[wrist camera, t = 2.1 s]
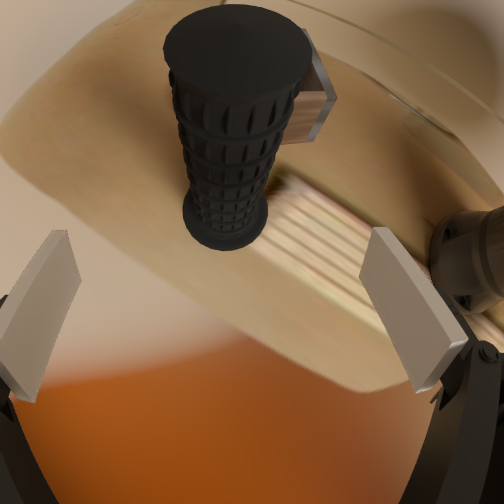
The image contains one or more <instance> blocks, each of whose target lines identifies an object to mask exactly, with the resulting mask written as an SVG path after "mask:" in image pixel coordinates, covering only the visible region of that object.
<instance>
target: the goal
mask: <svg viewBox="0 0 504 504" xmlns="http://www.w3.org/2000/svg"><path fill="white" fill-rule="evenodd" d="M302 31H303V32H304V33H305V35H306V36H307V37H308V39H309V42H310V44H311V47H312V62H311V64H310V66H309V68H308V70H307V72H306V73H305V74H304V75H303V77H302V78H301V90H300V92H299V95H298V96H297V97H296V98H295V99H294V110H293V112H292V115H291V117H290V119H289V121H288V124H287V127H286V128H285V129H284V133H283V138H282V142H281V144H280V145H282V144H293V143H304V142H313V141H314V139H315V137H316V136H317V134H318V132H319V130H320V128H321V127H322V125H323V123H324V121H325V119H326V118H327V116H328V114H329V112H330V110H331V109H332V107H333V105H334V103H335V101H336V100H337V96H336V94H335V91H334V89H333V86H332V84H331V82H330V79H329V77H328V75H327V73H326V70H325V68H324V66H323V64H322V62H321V59H320V57H319V55H318V53H317V51H316V49H315V47H314V45H313V43H312V41H311V39H310V37H309V35H308V33H307V31H306V29H302Z"/></svg>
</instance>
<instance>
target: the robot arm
mask: <svg viewBox="0 0 504 504" xmlns="http://www.w3.org/2000/svg"><path fill="white" fill-rule="evenodd" d="M429 263H430V271H431V276H432V280H433V283H434V286H435V287H434V286H433V285H432V284H431V282H430V281H429V280H428V278H427V277H426V275H425V274H424V273H423V271H422V270H421V269H420V267H419V266H418V265H417V263H416V262H415V261H414V260H413V258H412V257H411V256H410V254H409V253H408V252H407V250H406V249H405V248H404V247H403V245H402V244H401V243H400V242H399V240H398V239H397V238H396V237H395V235H394V234H393V233H392V232H391V231H390V229H389V228H388V227H373V229H372V233H371V236H370V240H369V244H368V247H367V251H366V254H365V258H364V261H363V265H362V268H361V271H360V275H359V278H360V280H361V282H362V284H363V286H364V287H365V289H366V291H367V293H368V295H369V297H370V299H371V301H372V303H373V305H374V307H375V309H376V310H377V312H378V314H379V316H380V318H381V320H382V322H383V324H384V326H385V328H386V330H387V332H388V334H389V336H390V339H391V341H392V343H393V345H394V347H395V349H396V351H397V353H398V355H399V357H400V360H401V362H402V364H403V366H404V368H405V370H406V373H407V375H408V377H409V379H410V381H411V384H412V386H413V388H414V390H415V393H418V392H422V391H426V390H429V389H432V388H433V387H434V385H435V384H436V383H437V382H438V380H439V379H440V380H441V382H442V384H443V386H442V387H441V388H440V390H439V391H438V392H437V393H436V394H435V395H434V397H433V398H432V400H431V401H430V403H431V404H432V403H433V402H434V401H435V400H436V399H437V401H436V404H435V408H434V411H433V415H432V418H431V422H430V425H429V428H428V431H427V434H426V437H425V440H424V443H423V446H422V449H421V451H420V454H419V457H418V459H417V462H416V464H415V467H414V469H413V472H412V474H411V477H410V479H409V481H408V484H407V486H406V488H405V491H404V493H403V495H402V497H401V500H400V502H399V504H504V353H499V351H498V349H497V348H496V347H495V346H494V345H493V344H491V343H489V342H487V341H483V340H482V341H479V340H478V339H477V337H476V336H475V334H474V333H473V331H472V329H471V328H470V326H469V325H468V323H467V322H466V320H465V319H464V317H463V316H462V315H461V314H478V313H481V312H484V311H485V310H487V309H489V308H491V307H492V306H494V305H496V304H498V303H499V302H501V301H503V300H504V206H501V207H499V208H497V209H495V210H492V211H490V212H489V211H459V212H456V213H454V214H452V215H449V216H447V217H446V218H444V219H443V220H442V221H441V222H440V223H439V224H438V226H437V227H436V229H435V231H434V233H433V236H432V239H431V244H430V251H429ZM81 281H82V280H81V277H80V274H79V271H78V268H77V265H76V261H75V258H74V255H73V252H72V248H71V244H70V241H69V237H68V233H67V230H54V231H52V232H51V233H50V234H49V236H48V237H47V238H46V240H45V241H44V242H43V244H42V245H41V246H40V248H39V249H38V251H37V252H36V254H35V255H34V257H33V258H32V259H31V261H30V262H29V264H28V265H27V267H26V268H25V270H24V271H23V273H22V274H21V276H20V277H19V279H18V281H17V282H16V284H15V286H14V287H13V289H12V290H11V292H10V294H9V295H5V296H4V297H3V298H2V299H0V504H59V502H58V501H57V499H56V497H55V495H54V494H53V492H52V490H51V488H50V487H49V485H48V483H47V481H46V479H45V477H44V475H43V473H42V472H41V470H40V468H39V466H38V463H37V461H36V459H35V457H34V455H33V453H32V451H31V449H30V446H29V444H28V442H27V440H26V437H25V435H24V433H23V430H22V427H21V425H20V422H19V420H18V417H17V415H16V412H15V409H14V407H13V404H12V402H11V400H10V398H9V397H8V396H9V393H10V391H12V392H13V393H14V394H15V396H16V397H17V398H18V399H20V400H24V401H28V402H32V403H35V400H36V397H37V394H38V391H39V387H40V384H41V381H42V378H43V375H44V372H45V369H46V366H47V364H48V361H49V358H50V355H51V353H52V350H53V347H54V344H55V342H56V339H57V337H58V334H59V332H60V329H61V327H62V324H63V322H64V319H65V317H66V315H67V312H68V310H69V308H70V305H71V303H72V301H73V299H74V296H75V294H76V292H77V290H78V288H79V285H80V283H81Z"/></svg>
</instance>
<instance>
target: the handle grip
mask: <svg viewBox="0 0 504 504" xmlns="http://www.w3.org/2000/svg"><path fill="white" fill-rule="evenodd" d="M163 51H164V58H165V61H166V63H167V64H168V66H169V68H170V71H169V82H170V86H171V87H172V95H173V98H172V100H173V106H174V111H175V114H176V119H177V120H178V121H179V123H178V131H179V137H180V140H181V144H182V145H183V156H184V162H185V163H186V165H187V175H188V179H189V181H190V189H189V190H188V192H187V194H186V196H185V199H184V204H183V219H184V222H185V224H186V227H187V229H188V231H189V232H190V234H191V235H192V237H194V238H195V239H196V240H197V241H198V242H199V243H200V244H202V245H204V246H206V247H209V248H211V249H215V250H220V251H232V250H236V249H240V248H243V247H245V246H247V245H248V244H250V243H252V242H253V241H254V240H255V239H256V238H257V237H258V236H259V235H260V233H261V232H262V230H263V228H264V226H265V224H266V220H267V217H268V204H267V201H266V197H265V194H264V193H263V189H264V186H265V184H266V181H267V179H268V176H269V171H270V170H271V168H272V165H273V163H274V161H275V155H276V152H277V151H278V149H279V145H280V144H281V142H282V138H283V133H284V129H285V128H286V127H287V124H288V121H289V119H290V117H291V115H292V112H293V110H294V99H295V98H296V97H297V96H298V95H299V92H300V90H301V78H302V77H303V75H304V74H305V73H306V72H307V70H308V68H309V66H310V64H311V62H312V47H311V44H310V42H309V39H308V37H307V36H306V35H305V33H304V32H303V31H302V29H301V28H300V27H299V26H297V25H296V24H295V23H294V22H292V21H291V20H290V19H288V18H286V17H284V16H282V15H281V14H279V13H276V12H274V11H271V10H268V9H265V8H262V7H257V6H251V5H242V4H241V5H240V4H226V5H219V6H212V7H209V8H205V9H202V10H199V11H196V12H194V13H192V14H190V15H188V16H186V17H184V18H183V19H182V20H181V21H179V22H178V23H177V24H176V25H174V26H173V28H172V29H171V30H170V32H169V33H168V35H167V36H166V39H165V43H164V46H163Z"/></svg>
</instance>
